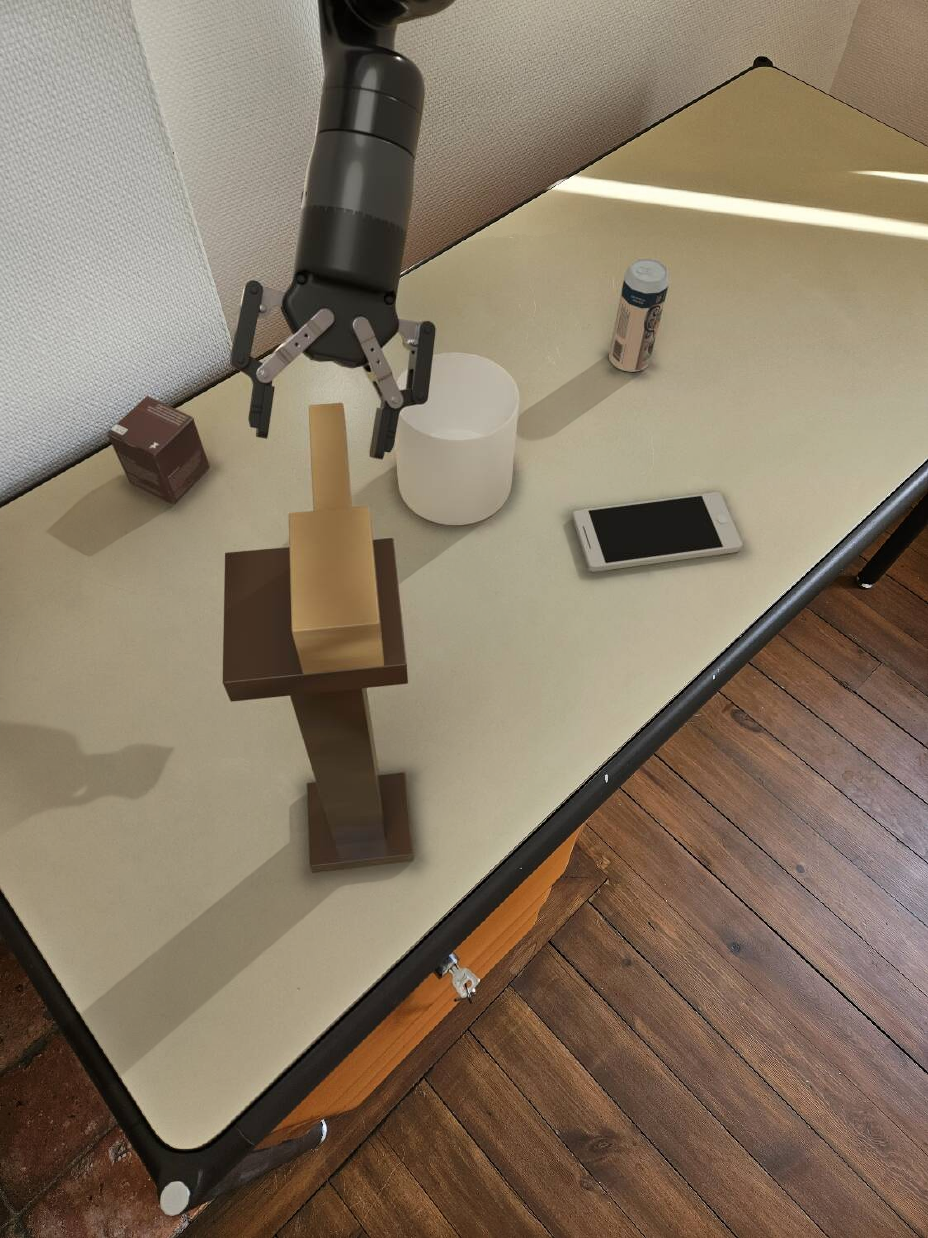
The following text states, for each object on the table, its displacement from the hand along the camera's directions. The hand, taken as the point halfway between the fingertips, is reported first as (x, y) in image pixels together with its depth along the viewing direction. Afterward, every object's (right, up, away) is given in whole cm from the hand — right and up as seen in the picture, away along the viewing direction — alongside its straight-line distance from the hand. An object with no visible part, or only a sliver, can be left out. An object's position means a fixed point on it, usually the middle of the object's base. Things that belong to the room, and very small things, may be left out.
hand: (320, 448), depth 67 cm
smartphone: (+30, -4, +23) cm, 38 cm away
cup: (+10, +1, +27) cm, 28 cm away
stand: (+2, -29, +7) cm, 30 cm away
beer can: (+29, +17, +37) cm, 50 cm away
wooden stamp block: (+4, -8, -18) cm, 20 cm away
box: (-20, +2, +26) cm, 33 cm away
